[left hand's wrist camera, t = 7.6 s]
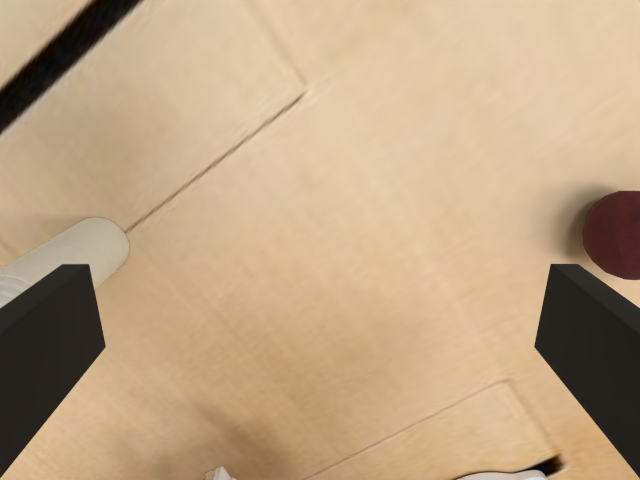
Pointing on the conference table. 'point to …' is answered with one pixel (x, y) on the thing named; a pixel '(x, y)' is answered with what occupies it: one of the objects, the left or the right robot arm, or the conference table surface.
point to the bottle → (68, 256)
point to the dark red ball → (615, 234)
